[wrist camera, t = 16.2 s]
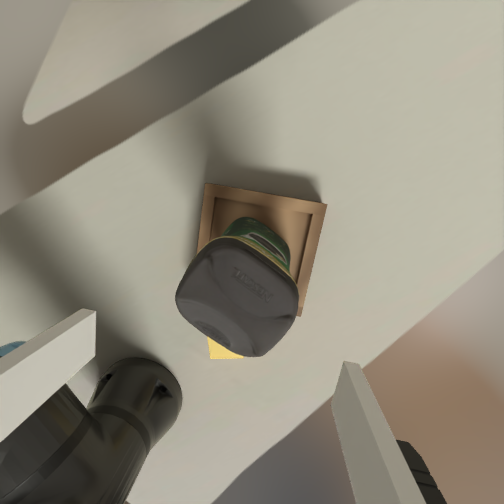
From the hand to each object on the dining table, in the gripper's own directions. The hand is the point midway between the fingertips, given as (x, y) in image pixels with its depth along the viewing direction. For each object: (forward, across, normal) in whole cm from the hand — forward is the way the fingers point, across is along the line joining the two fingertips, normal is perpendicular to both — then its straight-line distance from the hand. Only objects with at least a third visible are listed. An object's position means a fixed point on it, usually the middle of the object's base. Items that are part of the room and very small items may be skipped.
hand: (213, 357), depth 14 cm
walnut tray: (+26, 0, 0) cm, 27 cm away
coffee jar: (+24, 0, 0) cm, 24 cm away
